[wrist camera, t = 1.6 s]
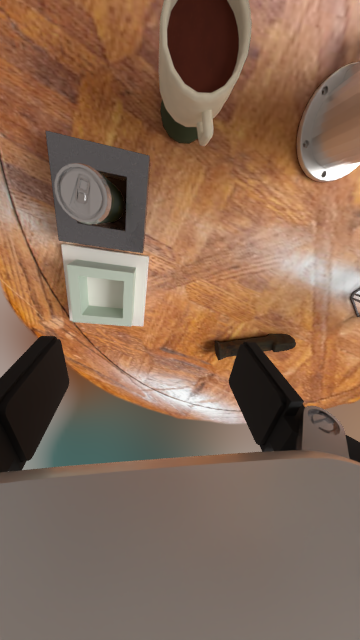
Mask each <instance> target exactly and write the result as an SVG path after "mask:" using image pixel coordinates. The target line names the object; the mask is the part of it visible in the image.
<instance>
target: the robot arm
mask: <svg viewBox="0 0 360 640" xmlns="http://www.w3.org/2000/svg"><path fill="white" fill-rule="evenodd" d="M297 156H298V160H299V164H300V166H301V168H302V170H303V171H304V173H305V174H306V175H307V176H308V177H309V178H311V179H312V180H315V181H318V182H328V181H334V180H337V179H340V178H342V177H344V176H346V175H347V174H349V173H350V172H351V171H353V170H354V169H355V168H356V167H357V166H358V165H359V164H360V62H355V63H350V64H348V65H346V66H343V67H341V68H340V69H339V70H337V71H336V72H334V73H333V74H332V75H331V76H329V77H328V78H327V79H326V80H325V81H324V82H323V83H322V84H321V85H320V86H319V88H318V89H317V90H316V91H315V93H314V94H313V96H312V97H311V99H310V100H309V102H308V104H307V106H306V108H305V111H304V113H303V116H302V119H301V122H300V125H299V130H298V135H297ZM68 385H69V378H68V373H67V368H66V363H65V358H64V353H63V349H62V344H61V341H60V340H59V339H57V338H56V337H55V336H41V337H39V338H38V339H37V340H36V341H35V342H34V344H33V345H32V346H31V347H30V348H29V349H28V350H27V351H26V352H25V353H24V354H23V355H22V356H21V357H20V358H19V359H18V360H17V361H16V362H15V363H14V364H13V365H12V366H11V367H10V369H9V370H8V371H7V372H6V373H5V374H4V375H3V376H2V377H1V378H0V640H360V442H358V441H356V440H354V439H353V438H351V437H349V436H347V435H345V431H344V428H343V426H342V424H341V423H340V422H339V421H338V420H337V419H336V418H335V417H334V416H333V415H332V414H330V413H329V412H328V411H326V410H324V409H322V408H319V407H316V406H307V407H306V408H305V407H304V406H303V402H304V401H303V400H302V398H301V397H300V396H299V395H298V394H297V392H296V391H295V390H294V389H293V388H292V386H291V385H290V384H289V383H288V381H287V380H286V379H285V378H284V377H283V375H282V374H281V373H280V372H279V370H278V369H277V368H276V367H275V366H274V364H273V363H272V362H271V361H270V360H269V358H268V357H267V356H266V355H265V353H264V352H263V351H262V350H261V349H260V347H259V346H258V345H257V344H256V343H255V342H244V343H243V344H241V345H240V347H239V350H238V353H237V356H236V359H235V362H234V365H233V369H232V372H231V375H230V378H229V385H230V387H231V389H232V392H233V394H234V396H235V398H236V400H237V403H238V405H239V407H240V409H241V411H242V414H243V416H244V418H245V420H246V422H247V425H248V427H249V429H250V431H251V433H252V435H253V438H254V440H255V442H256V443H257V444H258V445H260V447H261V449H262V452H253V453H238V454H222V455H208V456H194V457H180V458H166V459H153V460H140V461H127V462H115V463H101V464H89V465H78V466H77V465H76V466H65V467H52V468H42V469H31V470H22V469H23V467H24V465H25V463H26V461H28V460H30V459H31V458H32V457H33V455H34V453H35V451H36V449H37V447H38V445H39V443H40V441H41V439H42V437H43V435H44V434H45V431H46V430H47V427H48V426H49V424H50V422H51V420H52V418H53V416H54V413H55V412H56V410H57V408H58V406H59V404H60V402H61V400H62V398H63V396H64V394H65V392H66V390H67V388H68ZM8 471H10V472H8Z"/></svg>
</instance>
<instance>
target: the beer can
mask: <svg viewBox="0 0 360 640" xmlns="http://www.w3.org/2000/svg"><path fill="white" fill-rule="evenodd" d="M54 183H55V194H56V197H57V200H58V202H59V204H60V205H61V207H62V208H63V210H64V211H65V212H66V213H67V214H68V215H69V216H71V217H72V218H74V219H75V220H77V221H79V222H81V223H85V224H100V223H109V222H115V221H117V220H119V218H120V217H121V216H122V215H123V212H124V208H125V202H124V198H123V195H122V193H121V191H120V190H119V189H118V188H117V187H116V186H115V185H114V184H113V183H112V182H110V181H109V180H108V179H107V178H105V177H104V176H103V175H102V174H101V173H99V172H98V171H97V170H95V169H94V168H92V167H91V166H89V165H85V164H82V163H73V164H68V165H66V166H64V167H62V168H61V169H60V171H59V172H58V173H57V175H56V179H55V182H54Z"/></svg>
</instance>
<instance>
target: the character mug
mask: <svg viewBox="0 0 360 640" xmlns="http://www.w3.org/2000/svg"><path fill="white" fill-rule="evenodd" d="M251 25H252V22H251V11H250V6H249V2H248V0H164V3H163V8H162V12H161V17H160V35H159V87H160V94H161V97H162V103H161V111H160V112H161V117H162V122H163V126H164V128H165V130H166V131H167V133H168V135H169V136H170V137H171V138H172V139H174V140H175V141H177V142H179V143H191V142H193V141H194V140H196V139H198V140H199V143H200V145H202V146H205V145H206V144H208V142H209V141H210V139H211V138H212V136H213V118H214V117H215V116H216V115H217V114H218V113H219V112H220V110H221V109H222V107H223V105H224V103H225V102H226V101H227V99H228V97H229V95H230V93H231V91H232V89H233V87H234V85H235V83H236V82H237V80H238V78H239V75H240V73H241V70H242V68H243V65H244V63H245V60H246V58H247V55H248V51H249V45H250V39H251Z"/></svg>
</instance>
